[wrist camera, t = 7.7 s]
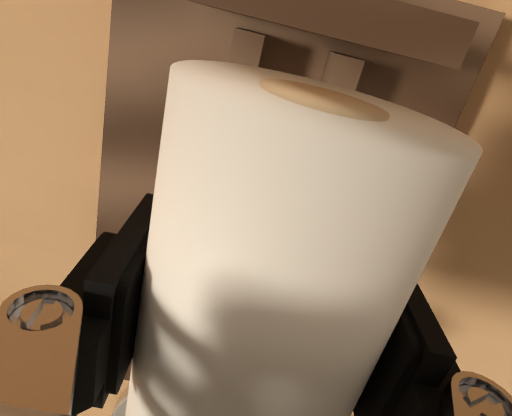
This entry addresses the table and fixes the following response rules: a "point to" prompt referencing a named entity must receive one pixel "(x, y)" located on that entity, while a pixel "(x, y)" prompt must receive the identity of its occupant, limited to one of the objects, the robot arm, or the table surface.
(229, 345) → the paper towel roll
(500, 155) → the table surface
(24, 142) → the table surface
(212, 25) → the roll holder
